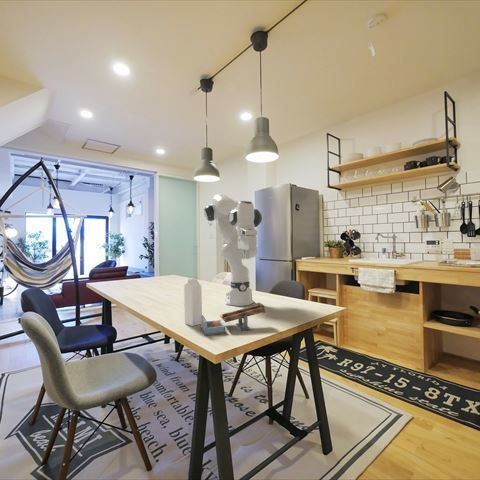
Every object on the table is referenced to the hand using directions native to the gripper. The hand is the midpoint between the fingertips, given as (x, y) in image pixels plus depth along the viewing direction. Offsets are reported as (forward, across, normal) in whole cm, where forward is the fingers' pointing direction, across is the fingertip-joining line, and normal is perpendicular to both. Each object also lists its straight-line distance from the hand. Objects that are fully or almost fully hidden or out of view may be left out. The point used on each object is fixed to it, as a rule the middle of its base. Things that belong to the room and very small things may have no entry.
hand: (246, 258), depth 142 cm
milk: (+31, 0, -28) cm, 42 cm away
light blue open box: (+31, +14, -21) cm, 40 cm away
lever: (+26, +11, -6) cm, 29 cm away
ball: (+28, +14, -19) cm, 37 cm away
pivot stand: (+31, +14, -7) cm, 35 cm away
